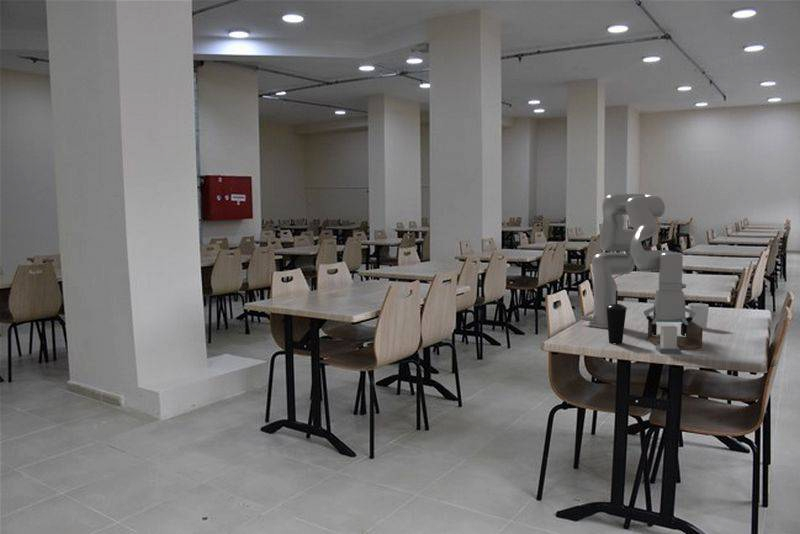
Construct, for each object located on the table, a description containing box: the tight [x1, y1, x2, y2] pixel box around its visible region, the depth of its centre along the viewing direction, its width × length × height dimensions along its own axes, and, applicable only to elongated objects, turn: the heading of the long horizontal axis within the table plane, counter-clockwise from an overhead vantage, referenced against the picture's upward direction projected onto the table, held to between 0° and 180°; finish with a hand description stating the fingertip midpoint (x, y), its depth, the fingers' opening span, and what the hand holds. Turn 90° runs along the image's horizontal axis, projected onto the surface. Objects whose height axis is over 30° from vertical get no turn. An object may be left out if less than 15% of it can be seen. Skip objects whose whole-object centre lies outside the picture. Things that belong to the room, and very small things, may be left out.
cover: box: [649, 314, 691, 323], centre depth 253 cm, size 14×8×6 cm, turn 81°
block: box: [659, 324, 678, 349], centre depth 236 cm, size 4×4×8 cm
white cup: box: [687, 302, 709, 330], centre depth 279 cm, size 8×8×10 cm
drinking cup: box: [606, 289, 628, 345], centre depth 251 cm, size 8×8×20 cm
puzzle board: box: [647, 319, 704, 351], centre depth 248 cm, size 15×18×8 cm
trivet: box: [655, 345, 682, 354], centre depth 236 cm, size 7×6×2 cm
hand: (668, 335), depth 236 cm, fingers open, 9 cm apart
